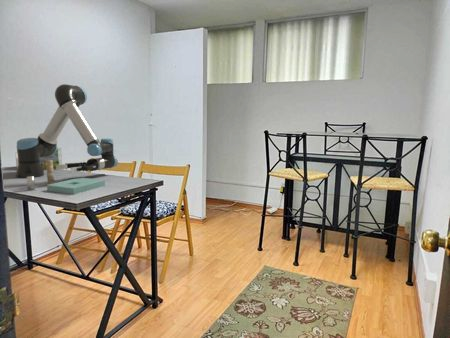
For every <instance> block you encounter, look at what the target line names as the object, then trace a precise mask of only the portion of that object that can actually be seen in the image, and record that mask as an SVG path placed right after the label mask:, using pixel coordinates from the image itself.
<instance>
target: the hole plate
mask: <svg viewBox="0 0 450 338" xmlns="http://www.w3.org/2000/svg"><path fill="white" fill-rule="evenodd" d="M105 186H106V180H105V179H103V180H102V179H96V178H87V177H77V178H76V177H75V178H72V179H69V180H64V181H59V182H54V184H49V185H48V184H47V185H46V189H47V191H48V192H54V193H61V194H69V195H76V194H80V192H81V193H83V192H87V190H88V191H90V190H94V189H97V188H101V187H105Z"/></svg>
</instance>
